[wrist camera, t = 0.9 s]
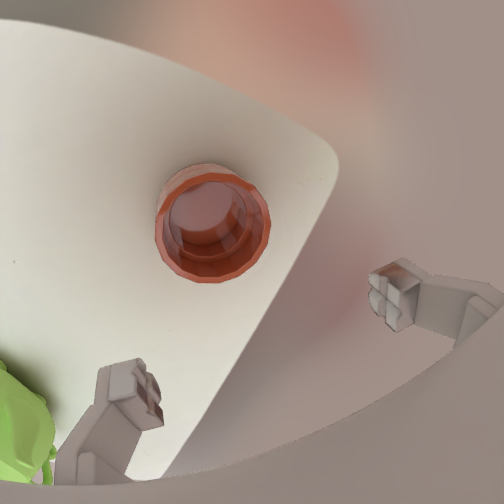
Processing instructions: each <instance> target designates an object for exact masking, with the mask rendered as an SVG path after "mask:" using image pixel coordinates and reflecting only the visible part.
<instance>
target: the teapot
mask: <svg viewBox="0 0 504 504" xmlns="http://www.w3.org/2000/svg"><path fill="white" fill-rule="evenodd" d="M46 404H47V402H46V400H45V399H44V398H43V397H42V396H41V395H39V394H37V393H32V392H31V391H30V390H29V389H27V388H26V387H25V386H24V385H23V384H21V383H20V382H19V381H18V380H17V379H15V378H14V377H13V376H11V375H10V374H9V373H7V367H6V365H5V364H4V363H3V362H2V361H1V360H0V480H7V481H14V482H22V483H31V484H36V483H34V482H33V481H31V479H32V478H33V477H34V476H35V474H36V473H37V472H38V470H39V469H40V468H41V467H42V471H43V483H42V484H44V485H52V481H53V477H52V471H51V466H50V462H49V460H52V459H54V458H55V457H56V453H57V450H56V448H55V446H54V445H53V441H54V438H55V424H54V422H53V419H52V417H51V415H50V413H49V411H48V409H47V407H46V406H45V405H46ZM49 453H50V454H49Z"/></svg>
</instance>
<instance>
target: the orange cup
mask: <svg viewBox="0 0 504 504" xmlns="http://www.w3.org/2000/svg"><path fill="white" fill-rule="evenodd" d="M270 228H271V220H270V216H269V211H268V206H267V203H266V201H265V200H264V199H263V197H262V196H261V194H260V193H259V192H258V190H257V189H256V188H255V186H254V185H252V184H251V183H249V182H248V181H246V180H245V179H243V178H242V177H241V176H239V175H238V174H236V173H234V172H233V171H231V170H229V169H227V168H225V167H224V166H221V165H217V164H207V163H200V164H196V165H193V166H190V167H187V168H184V169H182V170H180V171H179V172H178V173H176V174H175V175H174V176H173V177H172V178H170V179H169V180H168V181H167V183H165V185H164V187H163V189H162V191H161V193H160V195H159V197H158V200H157V209H156V224H155V242H156V245H157V247H158V250H159V252H160V255H161V257H162V260H163V261H164V262H165V263H166V264H167V265H168V266H169V267H170V268H171V269H172V270H173V271H174V272H175V273H176V274H177V275H179V276H181V277H184V278H186V279H189V280H191V281H194V282H196V283H221V282H224V281H227V280H230V279H233V278H236V277H238V276H240V275H241V274H243V273H244V272H245V271H247V270H248V269H249V268H250V267H252V266H253V265H254V264H255V263H256V262H257V261H258V259H259V257H260V256H261V254H262V253H263V251H264V249H265V248H266V246H267V244H268V238H269V233H270Z"/></svg>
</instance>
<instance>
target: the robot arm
mask: <svg viewBox="0 0 504 504" xmlns="http://www.w3.org/2000/svg"><path fill="white" fill-rule="evenodd" d="M368 282H369V284H370V285H371V286H372V287H371V289H370V291H369V293H368V295H369V296H368V297H369V303H370V306H371V308H372V310H373V311H374V312H375V313H376V315H377V316H380V317H384V318H385V323H386V324H387V325H388V326H389V327H390V328H391V329H392V330H393V331H394V332H395V333H398V332H400V331H402V330H403V329H405V328H407V327H409V326H411V325H412V324H414V325H416V326H419V327H422V328H424V329H427V330H430V331H433V332H436V333H439V334H442V335H444V336H447V337H450V338H453V339H456V341H455V344H454V347H453V350H452V351H450V352H449V353H448V354H446V355H445V356H444V357H442V358H441V359H440V360H438V361H437V362H436V363H434V364H433V365H432V366H430V367H429V368H427V369H426V370H425V371H423V372H422V373H420V374H419V375H417V376H416V377H414V378H413V379H411V380H410V381H408V382H407V383H405V384H404V385H402V386H401V387H399V388H397V389H396V390H394V391H392V392H391V393H389V394H387V395H386V396H384V397H382V398H381V399H379V400H377V401H375V402H374V403H372V404H370V405H368V406H367V407H365V408H363V409H361V410H359V411H357V412H356V413H353V414H352V415H350V416H348V417H346V418H344V419H342V420H340V421H338V422H336V423H334V424H331V425H329V426H327V427H325V428H323V429H321V430H319V431H316V432H314V433H312V434H309V435H307V436H305V437H302V438H300V439H298V440H295V441H293V442H290V443H288V444H285V445H282V446H280V447H277V448H274V449H272V450H269V451H266V452H263V453H260V454H257V455H254V456H251V457H248V458H245V459H242V460H238V461H235V462H231V463H228V464H224V465H221V466H217V467H213V468H209V469H205V470H201V471H196V472H192V473H187V474H182V475H177V476H172V477H166V478H160V479H154V480H147V481H140V482H135V481H134V480H132V479H130V478H129V477H127V476H126V475H124V473H125V471H126V469H127V466H128V464H129V462H130V459H131V457H132V455H133V452H134V450H135V448H136V445H137V443H138V441H139V438H140V436H141V434H142V432H141V431H146V430H150V429H154V428H158V427H162V426H164V420H163V411H162V409H161V408H160V406H159V405H158V404H159V403H160V401H161V392H160V389H159V386H158V383H157V381H156V379H155V378H154V376H153V375H152V374H151V373H149V372H146V365H145V363H144V362H143V360H142V359H141V358H136V359H132V360H128V361H124V362H120V363H116V364H113V365H109V366H105V367H101V368H100V369H99V370H98V375H97V382H96V390H95V399H94V405H90V407H89V408H88V409H87V411H86V412H85V413H84V415H83V416H82V418H81V419H80V420H79V422H78V423H77V425H76V426H75V427H74V429H73V430H72V432H71V433H70V434H69V436H68V437H67V439H66V440H65V442H64V443H63V444H62V446H61V447H60V449H59V450H58V452H57V453H56V461H55V474H54V485H44V484H31V483H22V482H14V481H7V480H0V504H504V293H502V292H501V291H499V290H498V289H496V288H495V287H493V286H492V285H490V284H489V283H485V282H479V281H473V280H467V279H460V278H454V277H448V276H442V275H436V274H435V275H433V276H432V275H430V274H429V273H427V272H426V271H424V270H423V269H421V268H420V267H418V266H417V265H415V264H414V263H412V262H411V261H409V260H408V259H406V258H400V259H398V260H396V261H394V262H392V263H391V264H388V265H386V266H384V267H382V268H380V269H377V270H375V271H373V272H371V273H370V275H369V281H368Z"/></svg>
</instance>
